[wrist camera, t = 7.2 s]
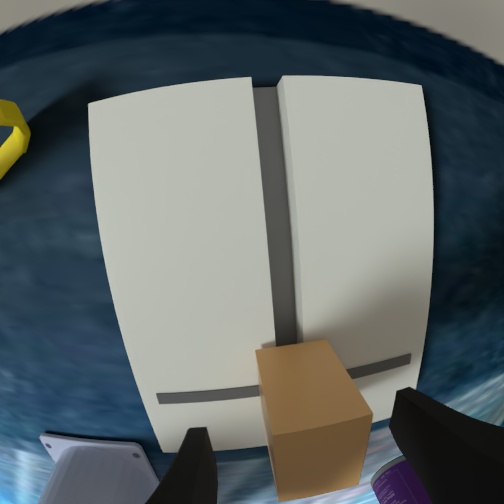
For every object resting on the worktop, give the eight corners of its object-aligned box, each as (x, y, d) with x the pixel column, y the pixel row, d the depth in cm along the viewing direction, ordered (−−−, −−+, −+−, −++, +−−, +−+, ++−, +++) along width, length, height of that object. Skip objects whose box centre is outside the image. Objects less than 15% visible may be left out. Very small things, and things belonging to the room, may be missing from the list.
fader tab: (316, 389, 15) (358, 484, 9) (259, 399, 15) (278, 502, 9) (315, 323, 14) (373, 413, 8) (251, 332, 14) (272, 435, 8)
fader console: (396, 392, 17) (411, 411, 15) (167, 428, 16) (162, 453, 14) (399, 94, 13) (422, 85, 11) (105, 113, 12) (87, 103, 10)
